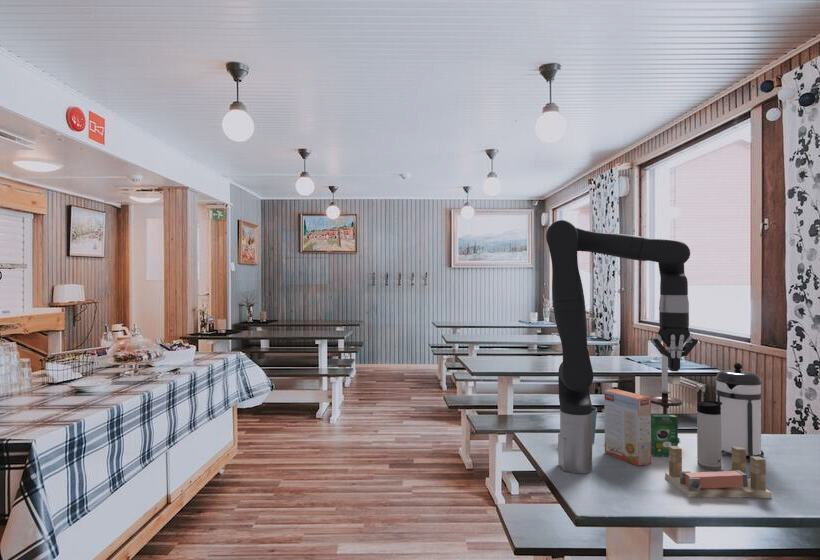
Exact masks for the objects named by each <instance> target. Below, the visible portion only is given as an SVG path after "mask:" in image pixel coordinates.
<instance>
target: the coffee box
mask: <svg viewBox="0 0 820 560" xmlns="http://www.w3.org/2000/svg"><path fill="white" fill-rule="evenodd" d="M678 436H679V416H677V415H675V414H667V415H663V414H652V413H651V456H652V457H669V446H678V444H679V443H678V438H679V437H678ZM678 447H679V446H678Z"/></svg>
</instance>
